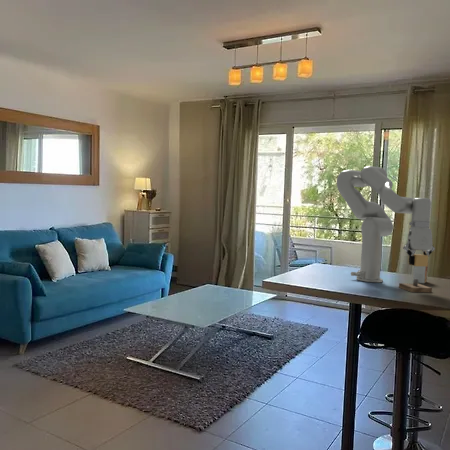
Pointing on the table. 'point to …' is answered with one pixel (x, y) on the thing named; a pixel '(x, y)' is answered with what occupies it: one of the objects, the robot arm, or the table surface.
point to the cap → (421, 260)
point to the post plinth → (415, 287)
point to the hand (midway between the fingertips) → (418, 264)
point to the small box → (420, 273)
